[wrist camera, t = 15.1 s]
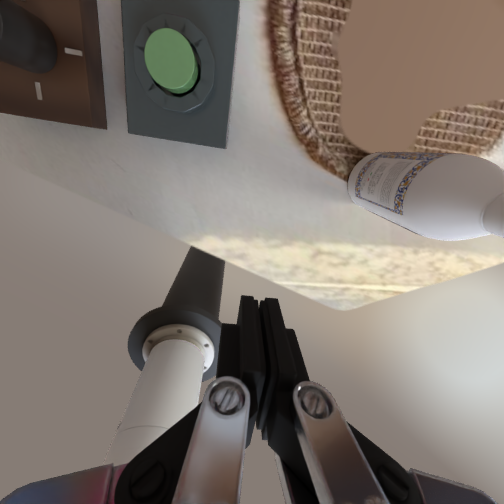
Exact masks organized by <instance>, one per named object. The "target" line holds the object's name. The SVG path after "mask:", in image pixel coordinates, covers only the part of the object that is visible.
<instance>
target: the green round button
mask: <svg viewBox="0 0 504 504" xmlns="http://www.w3.org/2000/svg"><path fill="white" fill-rule="evenodd" d="M144 57H145V63H146V67H147V69H148V71H149V73H150V75H151V76H152V78H153V79H154V80H155V81H156V82H157V83H158V84H160V85H161V86H162V87H163V88H165V89H166V90H167V91H169V92H172V93H176V94H181V93H185V92H187V91H189V90H190V89H191V88H192V87H193V86H194V84H195V82H196V80H197V76H198V63H197V59H196V57H195V54H194V52H193V50H192V48H191V46H190V44H189V42H188V41H187V39H186V38H185V37H184V36H183V35H182V34H181V33H179V32H178V31H176V30H174V29H170V28H161V29H158V30H156V31H154V32H153V33H152V34H151V35H150V36H149V38H148V40H147V42H146V45H145V50H144Z"/></svg>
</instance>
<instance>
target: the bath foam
mask: <svg viewBox="0 0 504 504" xmlns="http://www.w3.org/2000/svg"><path fill="white" fill-rule="evenodd" d="M348 192H349V195H350V197H351V199H352V200H353V201H354V203H356V204H357V205H358V206H360V207H362V208H364V209H366V210H368V211H370V212H372V213H374V214H376V215H378V216H381V217H383V218H385V219H387V220H389V221H391V222H393V223H395V224H397V225H399V226H401V227H404V228H406V229H408V230H410V231H412V232H414V233H416V234H418V235H421V236H425V237H428V238H432V239H437V240H448V241H454V240H465V239H471V238H476V237H480V236H485V235H489V234H494V235H497V236H500V237H503V238H504V170H503V169H501V168H500V167H499V166H497V165H496V164H494V163H492V162H490V161H488V160H486V159H483V158H480V157H476V156H472V155H466V154H456V153H412V152H377V153H372V154H370V155H368V156H366V157H364V158H363V159H362V160H360V161H359V162H358V163H357V164H356V165H355V167H354V168H353V170H352V172H351V174H350V176H349V180H348Z"/></svg>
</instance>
